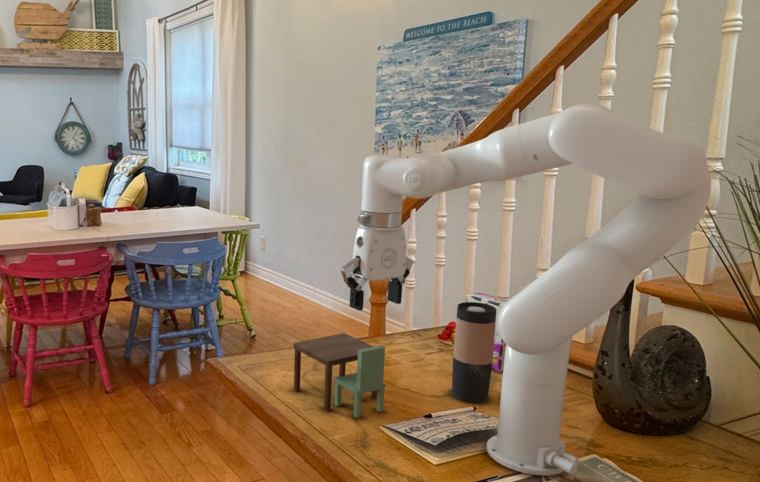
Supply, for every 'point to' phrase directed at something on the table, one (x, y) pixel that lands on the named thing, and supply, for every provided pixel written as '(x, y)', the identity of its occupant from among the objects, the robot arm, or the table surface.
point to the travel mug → (473, 351)
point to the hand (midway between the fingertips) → (375, 305)
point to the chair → (364, 378)
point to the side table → (329, 358)
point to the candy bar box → (498, 342)
